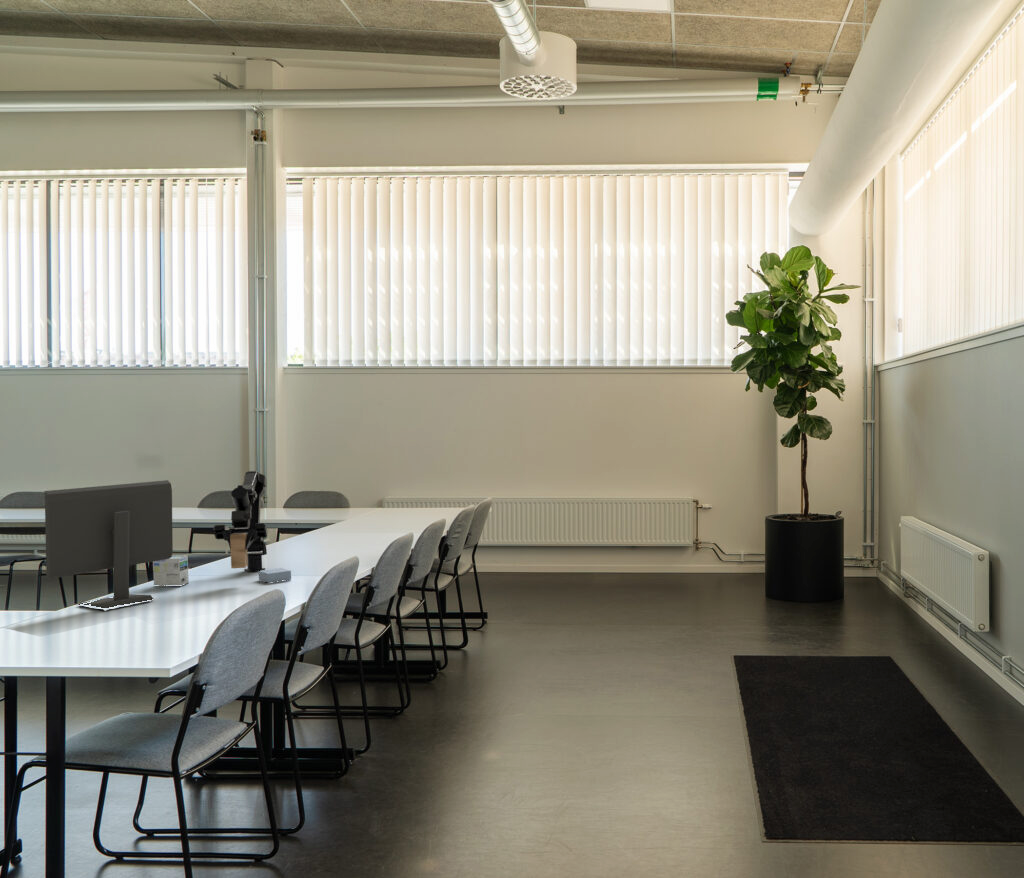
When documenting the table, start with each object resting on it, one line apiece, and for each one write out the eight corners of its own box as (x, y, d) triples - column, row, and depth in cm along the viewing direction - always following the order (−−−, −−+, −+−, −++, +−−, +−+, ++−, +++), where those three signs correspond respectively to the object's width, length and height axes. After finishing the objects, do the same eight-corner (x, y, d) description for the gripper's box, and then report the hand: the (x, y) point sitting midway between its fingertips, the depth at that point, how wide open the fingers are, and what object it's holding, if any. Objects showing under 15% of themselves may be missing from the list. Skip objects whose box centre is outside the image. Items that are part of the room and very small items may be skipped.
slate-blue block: (258, 581, 340) (258, 570, 340) (281, 578, 345) (281, 567, 345) (268, 584, 333) (267, 573, 333) (291, 581, 338) (290, 570, 338)
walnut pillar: (233, 565, 333) (232, 533, 332) (247, 565, 333) (246, 533, 333) (231, 568, 328) (230, 535, 327) (245, 567, 328) (244, 534, 328)
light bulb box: (189, 583, 337) (188, 555, 337) (181, 587, 330) (179, 558, 330) (162, 583, 338) (160, 555, 338) (153, 587, 331) (151, 558, 331)
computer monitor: (159, 590, 325) (155, 479, 324) (187, 594, 316) (182, 480, 314) (38, 614, 290) (32, 490, 288) (64, 620, 280) (59, 491, 279)
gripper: (213, 503, 333) (207, 537, 322) (265, 501, 335) (261, 535, 324) (218, 521, 341) (213, 555, 330) (269, 519, 343) (265, 553, 332)
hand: (238, 549), depth 329 cm, fingers closed on walnut pillar, 5 cm apart
